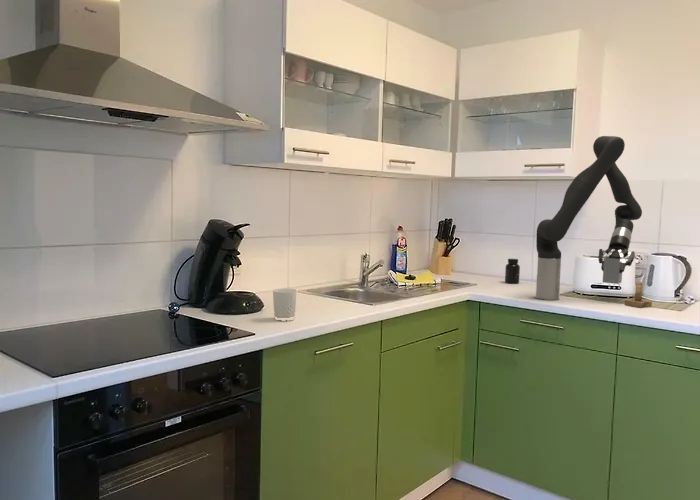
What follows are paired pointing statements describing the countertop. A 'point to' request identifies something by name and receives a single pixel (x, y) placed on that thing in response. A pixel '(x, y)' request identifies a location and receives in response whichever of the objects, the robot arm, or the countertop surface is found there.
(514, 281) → the supplement bottle
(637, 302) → the post
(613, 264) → the sleeve
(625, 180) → the robot arm
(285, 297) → the white cup
